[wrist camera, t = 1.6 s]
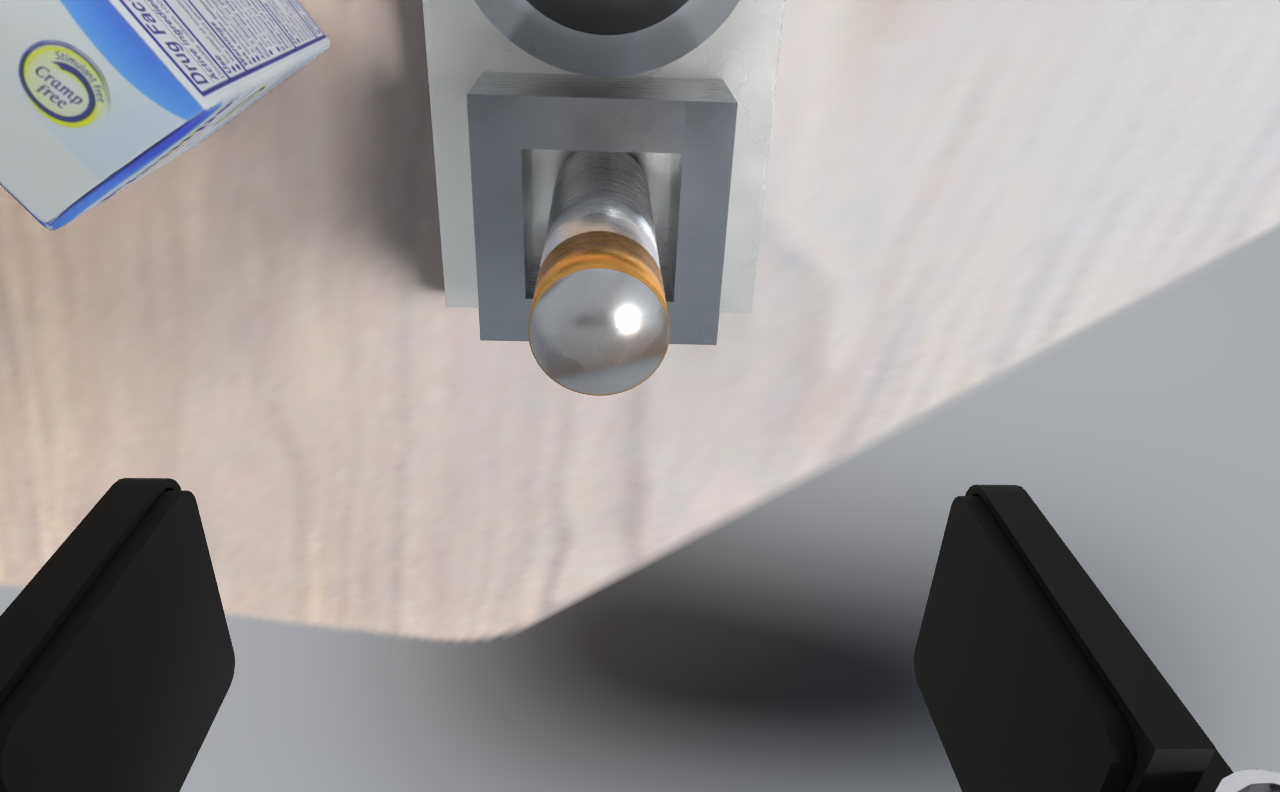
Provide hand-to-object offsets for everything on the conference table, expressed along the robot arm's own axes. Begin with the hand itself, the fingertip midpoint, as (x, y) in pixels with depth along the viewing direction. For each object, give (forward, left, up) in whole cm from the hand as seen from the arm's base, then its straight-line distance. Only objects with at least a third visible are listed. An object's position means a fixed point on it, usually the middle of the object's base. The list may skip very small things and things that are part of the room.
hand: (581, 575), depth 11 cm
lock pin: (0, 0, -15) cm, 15 cm away
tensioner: (-4, 0, -16) cm, 17 cm away
